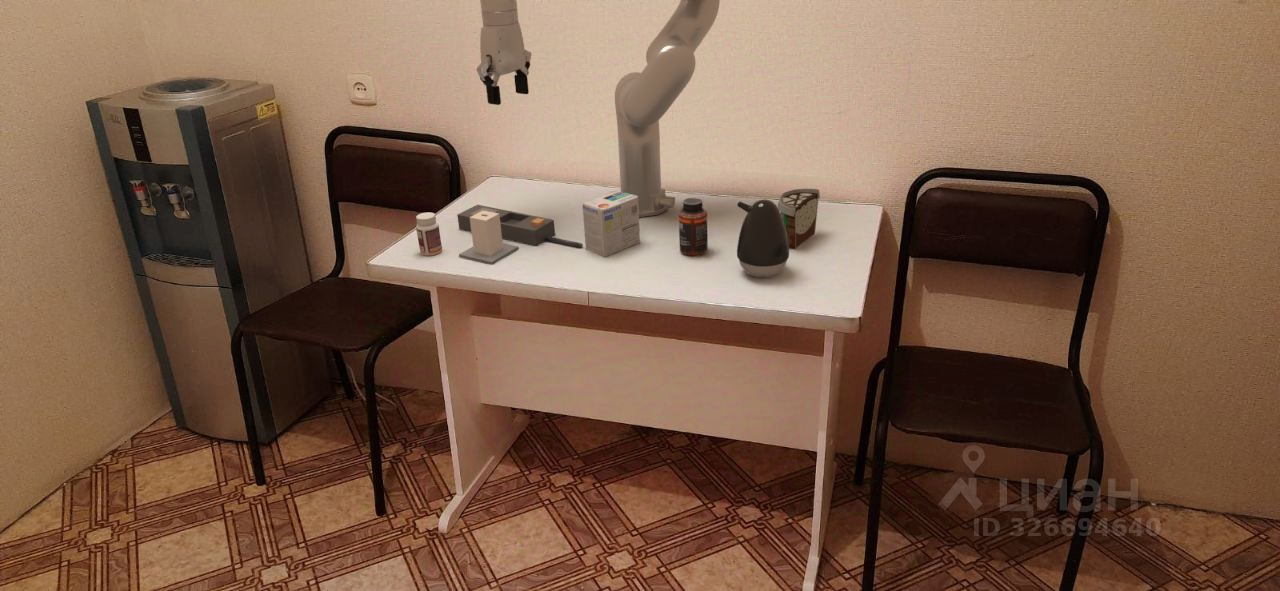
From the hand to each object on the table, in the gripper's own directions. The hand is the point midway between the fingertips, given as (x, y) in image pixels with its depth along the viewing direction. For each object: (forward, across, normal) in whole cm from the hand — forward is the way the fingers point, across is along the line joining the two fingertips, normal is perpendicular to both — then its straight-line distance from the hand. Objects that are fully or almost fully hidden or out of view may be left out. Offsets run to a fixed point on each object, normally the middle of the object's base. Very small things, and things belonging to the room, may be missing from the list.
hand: (508, 98), depth 198 cm
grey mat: (+28, +19, +6) cm, 35 cm away
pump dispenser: (+28, +2, +62) cm, 68 cm away
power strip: (+28, +8, +7) cm, 30 cm away
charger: (+28, +19, +6) cm, 34 cm away
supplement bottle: (+28, -1, +45) cm, 53 cm away
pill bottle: (+28, +24, -6) cm, 38 cm away
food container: (+28, -16, +61) cm, 69 cm away
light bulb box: (+29, +4, +28) cm, 40 cm away
